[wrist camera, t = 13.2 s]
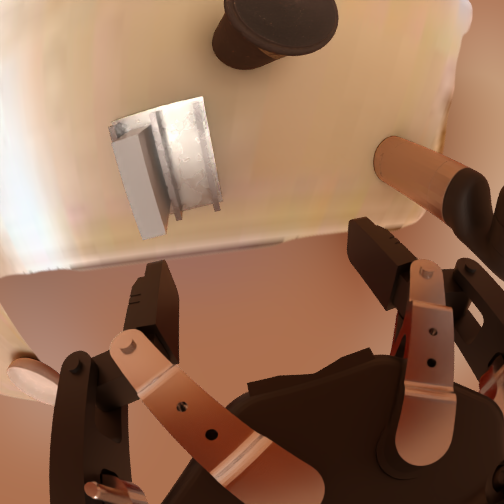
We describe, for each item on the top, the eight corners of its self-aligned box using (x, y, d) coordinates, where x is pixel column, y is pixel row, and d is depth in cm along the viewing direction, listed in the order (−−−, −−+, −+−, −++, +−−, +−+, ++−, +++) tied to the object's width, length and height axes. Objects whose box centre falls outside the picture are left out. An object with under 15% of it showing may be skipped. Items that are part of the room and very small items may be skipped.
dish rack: (202, 96, 33) (203, 96, 28) (222, 198, 42) (226, 212, 38) (112, 121, 31) (102, 125, 27) (141, 218, 40) (137, 234, 36)
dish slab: (151, 123, 32) (137, 134, 24) (170, 201, 39) (166, 234, 31) (130, 130, 32) (111, 143, 24) (152, 206, 39) (142, 240, 31)
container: (254, 82, 33) (312, 75, 16) (197, 54, 29) (203, 15, 13) (284, 37, 29) (362, 4, 13) (229, 8, 26) (267, -57, 9)
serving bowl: (1, 348, 48) (-6, 366, 43) (46, 346, 51) (40, 367, 45) (39, 387, 60) (35, 404, 55) (85, 388, 63) (82, 408, 57)
